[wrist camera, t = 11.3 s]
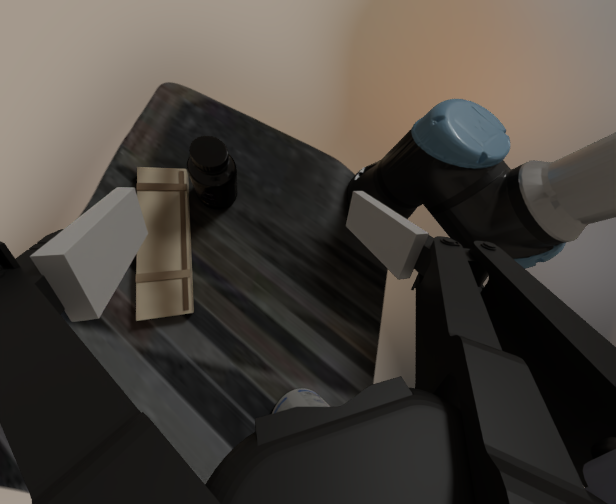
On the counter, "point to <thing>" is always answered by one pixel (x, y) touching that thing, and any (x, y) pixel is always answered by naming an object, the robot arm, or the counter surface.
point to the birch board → (164, 244)
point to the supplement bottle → (212, 172)
